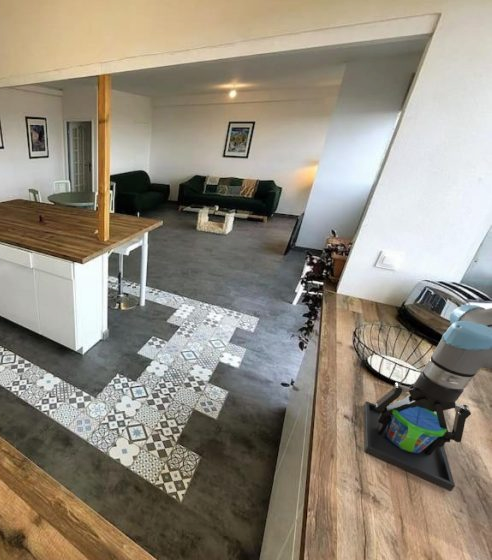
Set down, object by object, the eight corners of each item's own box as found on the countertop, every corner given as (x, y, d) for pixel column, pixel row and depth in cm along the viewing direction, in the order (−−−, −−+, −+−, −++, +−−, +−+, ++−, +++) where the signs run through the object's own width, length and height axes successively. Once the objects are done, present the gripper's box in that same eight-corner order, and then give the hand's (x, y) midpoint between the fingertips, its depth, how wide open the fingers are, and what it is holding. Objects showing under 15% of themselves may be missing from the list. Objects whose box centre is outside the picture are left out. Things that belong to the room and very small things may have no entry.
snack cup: (387, 414, 93) (402, 390, 89) (435, 440, 86) (453, 414, 81) (369, 442, 85) (384, 416, 81) (420, 473, 78) (440, 446, 73)
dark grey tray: (435, 433, 88) (439, 428, 88) (450, 491, 74) (455, 486, 73) (363, 405, 97) (365, 400, 96) (364, 452, 83) (367, 447, 82)
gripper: (385, 369, 79) (353, 429, 89) (516, 412, 67) (462, 475, 77) (384, 353, 84) (353, 412, 94) (504, 391, 72) (455, 453, 82)
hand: (402, 440), depth 85 cm, fingers closed on snack cup, 9 cm apart
